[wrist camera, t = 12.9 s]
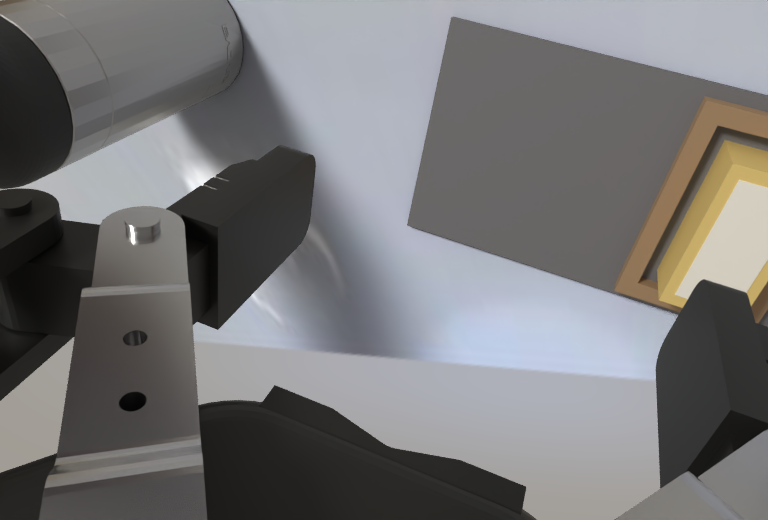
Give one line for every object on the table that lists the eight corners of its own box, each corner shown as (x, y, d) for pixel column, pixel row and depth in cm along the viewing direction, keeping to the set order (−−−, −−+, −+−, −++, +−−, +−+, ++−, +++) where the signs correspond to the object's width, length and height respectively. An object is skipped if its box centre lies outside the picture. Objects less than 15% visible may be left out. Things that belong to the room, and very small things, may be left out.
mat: (408, 222, 48) (403, 230, 47) (453, 16, 39) (447, 20, 38) (774, 342, 43) (778, 355, 41) (924, 134, 34) (935, 143, 32)
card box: (724, 139, 37) (733, 163, 34) (811, 163, 36) (828, 190, 33) (657, 269, 42) (658, 300, 39) (730, 292, 41) (738, 326, 38)
